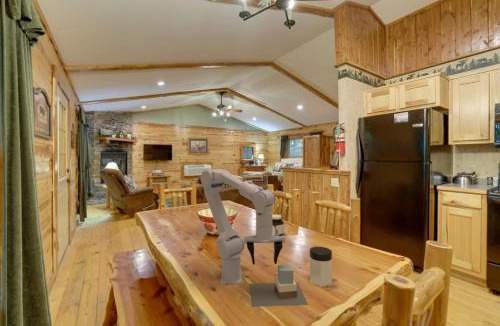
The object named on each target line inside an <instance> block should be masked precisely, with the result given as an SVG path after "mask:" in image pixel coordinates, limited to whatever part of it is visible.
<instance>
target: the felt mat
mask: <svg viewBox="0 0 500 326" xmlns="http://www.w3.org/2000/svg"><path fill="white" fill-rule="evenodd" d="M295 283H296V284H297V297H292V298H285V299H280V298H279V297H278V295H277V293H276V292H275V290H274V284H275V282H273V283H272V282H270V283H267V282H265V283H250V284H249V288H250V290H249V291H250V305H251V307H257V308H258V307H281V306H284V307H285V306H287V307H288V306H309V304H308V301H307V299H306V297H305V295H304V293H303V291H302V289H301V286H300V283H299V282H296V281H295Z"/></svg>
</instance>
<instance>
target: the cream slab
mask: <svg viewBox="0 0 500 326" xmlns="http://www.w3.org/2000/svg"><path fill="white" fill-rule="evenodd" d="M274 283H275V285H276V287H277V289H278V291H279V292H289V291H297V284H296V281H295V280H294V279H293V284H280V283H279V280H278V276H274Z"/></svg>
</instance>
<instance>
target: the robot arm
mask: <svg viewBox="0 0 500 326" xmlns="http://www.w3.org/2000/svg"><path fill="white" fill-rule="evenodd" d="M199 181H200V183H201V185H202V187H203V193H204V196H205V198H206V200H207V204H208V207H209V209H210V212H211V215H212V217H213V221H214V223H215V225H216V228H217V232H218V234H219V235H218V237H217V238H216V245H217V247H216V248H217V254H218V255H219V256H220V259H221V275H220V276H221V278H220V284H241V283H242V281H243V279H242V277H243V276H242V273H243V272H242V269H241V265H242V264H241V263H242V261H241V255H242V252H243V251H244V249H245V245H246V248H247V250H248V252H249V254H250V257H251V261H252V265H255V264H256V261H255V244H269V243H270V244H271V243H272V244H273V249H274V250H273V263H274V265H278V264H277V263H278V258H279V255H280V253H281V251H282V249H283V246H284V245H283V244H286V237H285V235H281V236H276V235H272V215H273V205H274V204H275V202H276V194H275V193H274V192H273V191H272V190H271V189H269V188H267V189H264V188H263V187H262V186H259V185H256V184H254V182H253V181H252V180H245V181H243V180H241V179H239V178H238V177H236V176H235V175H233V174H232V173H230V172H229V170H227V169H225V168H214V169H213V168H212V169H210V168H208V169H207V168H206V169H204V170H203V171H202V173H201V175H200V180H199ZM225 184H227V185H228V186H231V187H233V188H234V189H236V190H238V193H239V195H240V196H243V197H244V198H246V199H248V200H249V201H250V202H252V204H253V206H254V208H255V209H254V211H255V224H256V225H255V235H251V236H250V235H249V236H243V238H242V237H241V236H240V234H239V232H238V231H237V230H235V229H233V227H232V224H231V222H230V219H229V216H228V214H227V212H226V208H225V206H224V203H223V201H222V198H221V196H220V191H221V190H222V188H223V187H224V186H225Z"/></svg>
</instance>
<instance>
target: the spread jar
mask: <svg viewBox="0 0 500 326" xmlns="http://www.w3.org/2000/svg"><path fill="white" fill-rule="evenodd" d="M284 232H285V222H284V220H283V219H282V215H281V214H272V235H276V236H280V235H281V236H283V234H284Z"/></svg>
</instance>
